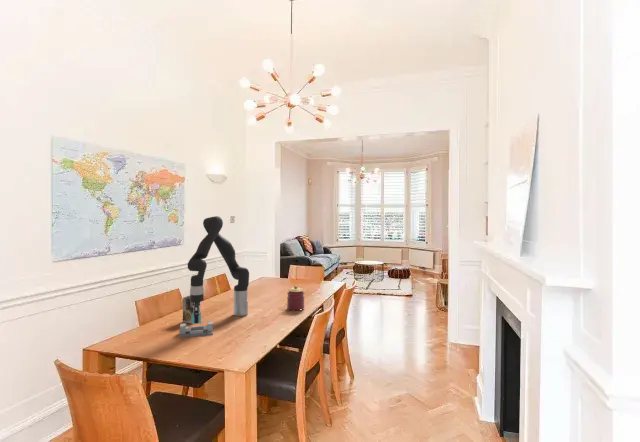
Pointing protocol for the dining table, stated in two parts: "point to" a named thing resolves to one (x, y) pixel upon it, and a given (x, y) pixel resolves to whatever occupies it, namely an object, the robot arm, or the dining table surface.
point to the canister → (295, 298)
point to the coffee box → (187, 309)
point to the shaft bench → (196, 330)
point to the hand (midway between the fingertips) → (196, 321)
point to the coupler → (198, 318)
